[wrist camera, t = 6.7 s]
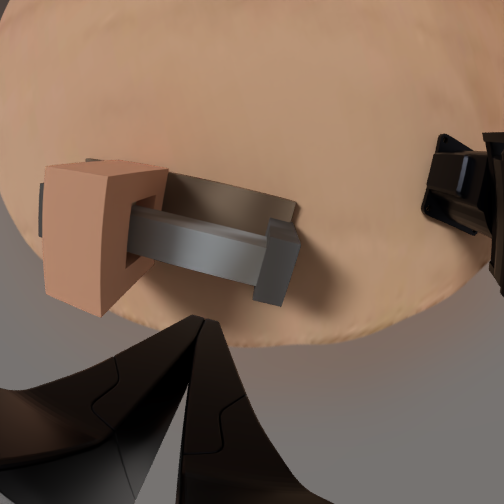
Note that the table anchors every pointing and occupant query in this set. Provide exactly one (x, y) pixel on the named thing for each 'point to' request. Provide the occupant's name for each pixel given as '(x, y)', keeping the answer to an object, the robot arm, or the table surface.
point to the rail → (221, 203)
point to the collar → (95, 229)
